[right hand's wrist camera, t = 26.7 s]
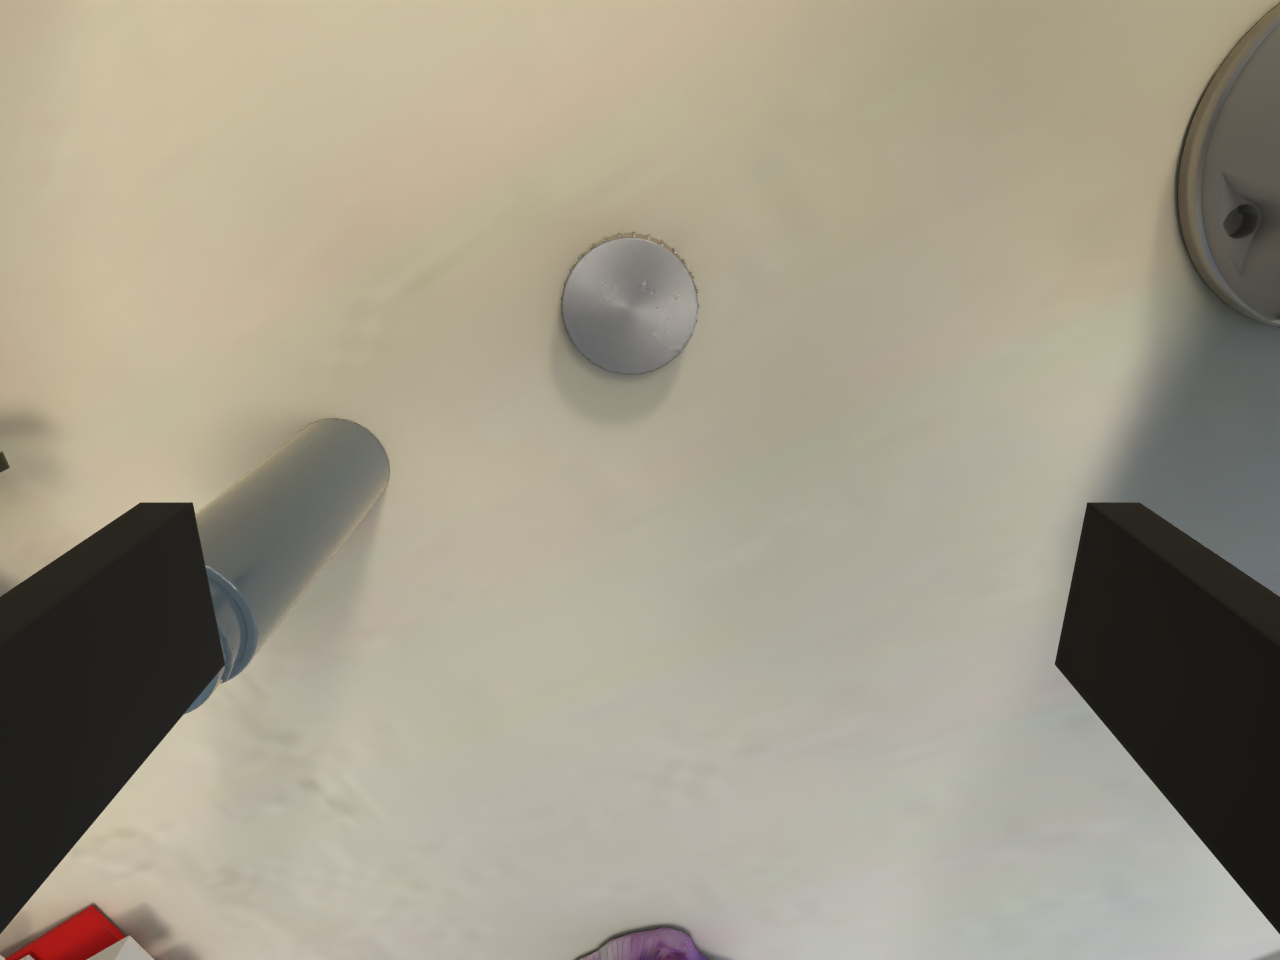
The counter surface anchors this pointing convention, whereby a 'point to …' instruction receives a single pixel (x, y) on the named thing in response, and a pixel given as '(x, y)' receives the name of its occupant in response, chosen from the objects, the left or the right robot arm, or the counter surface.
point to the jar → (284, 531)
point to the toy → (83, 941)
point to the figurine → (649, 947)
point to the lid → (630, 304)
